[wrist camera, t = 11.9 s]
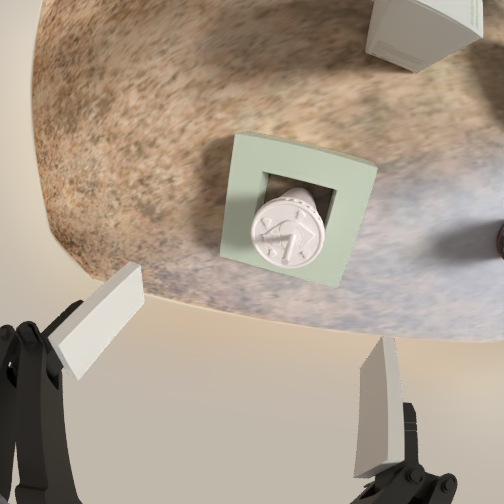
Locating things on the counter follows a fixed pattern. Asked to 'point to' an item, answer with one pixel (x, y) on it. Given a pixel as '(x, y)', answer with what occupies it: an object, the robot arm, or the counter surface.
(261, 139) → the block
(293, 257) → the smoothie
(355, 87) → the counter surface
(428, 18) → the skincare box
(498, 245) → the supplement bottle
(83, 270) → the counter surface
